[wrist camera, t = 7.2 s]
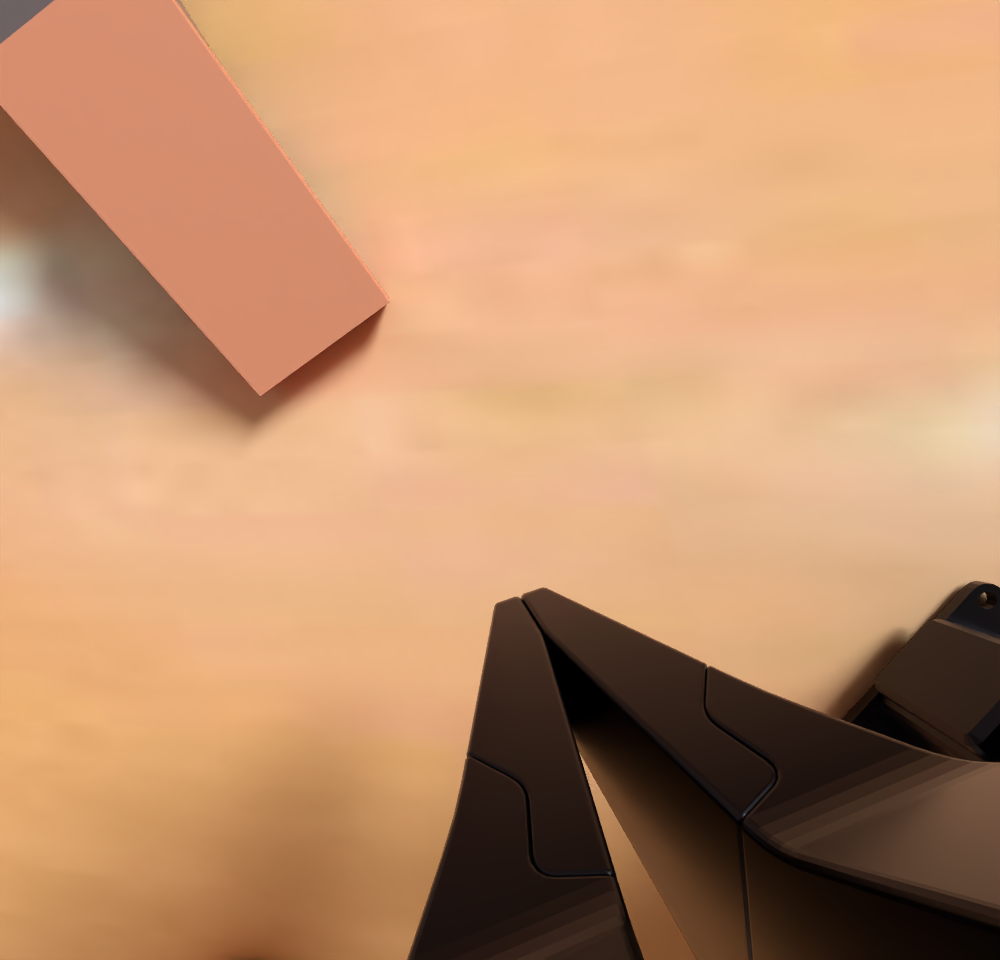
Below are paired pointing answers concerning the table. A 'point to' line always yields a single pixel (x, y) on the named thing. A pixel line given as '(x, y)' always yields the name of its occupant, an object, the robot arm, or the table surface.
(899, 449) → the table surface
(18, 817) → the table surface
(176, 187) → the domino
